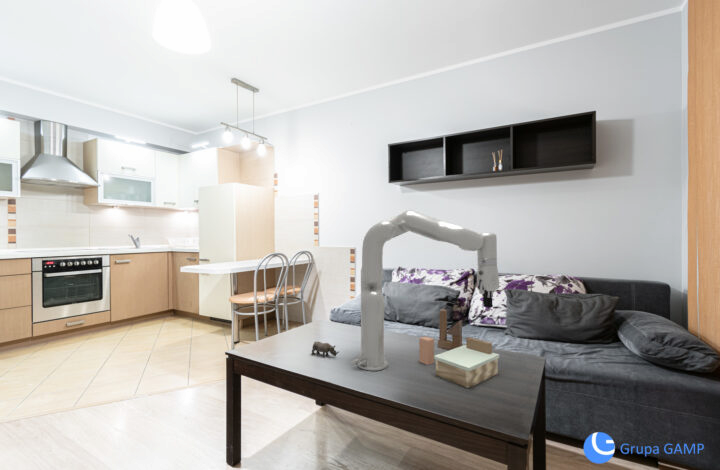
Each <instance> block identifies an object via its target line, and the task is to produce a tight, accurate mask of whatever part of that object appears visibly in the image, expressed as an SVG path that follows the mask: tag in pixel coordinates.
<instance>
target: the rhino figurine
mask: <svg viewBox="0 0 720 470" xmlns="http://www.w3.org/2000/svg"><path fill="white" fill-rule="evenodd" d="M336 346H337V344H335V345H331V344H330V343H328V342H321V341H314V342H313V344H312V349H311V355H313V356H314V355H315V351H316V354H317V355H320V354H321V353H322V355H321V357H322V358H325V357H330V354H331V355H332V356H334V357H336V356H337V355H339V352H340V351H337V350H335V348H336Z"/></svg>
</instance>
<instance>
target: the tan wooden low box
mask: <svg viewBox="0 0 720 470" xmlns="http://www.w3.org/2000/svg"><path fill="white" fill-rule="evenodd" d="M498 360H499V358H497V359H495V360H493V361H491V362H489V363H486V364H484V365H482V366H480V367H478V368H475V369H473V370H471V371H466V370H463V369H461V368H458V367H455V366H452V365H449V364H446V363H444V362H441V361H438V360H435V376H436V377H438V378H440V379H444V380H446V381H449V382H450V383H451V382H452V383H453V384H457V385H459V386H462V387H464V388H466V389H470V388H473V387H474V386H476V385H478V384H480V383H482V382H484V381H486V380H488V379H490V378H491V377H492V378H493V377H494V376H496V375H497V374H498V375H499V373H498V372H499V371H498V369H499V368H498V364H499V363H498V362H499V361H498Z"/></svg>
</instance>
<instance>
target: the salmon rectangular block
mask: <svg viewBox="0 0 720 470" xmlns="http://www.w3.org/2000/svg"><path fill="white" fill-rule="evenodd" d="M418 341H419V343H418V344H419V348H418V349H419V350H418V351H419V353H418V354H419V363H421V362H422V364H424V365H426V366H428V365H432V364H434V363H435V359H434V356H435V338H432V337H428V336H422V337H419V340H418Z"/></svg>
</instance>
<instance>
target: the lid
mask: <svg viewBox="0 0 720 470" xmlns="http://www.w3.org/2000/svg"><path fill="white" fill-rule="evenodd" d="M465 339H466V344H462V346H461V347H458V348H455V349H452V350H447V351H444V352H441V353H439V354H434V361H436V360H438V361H441V362H444V363H446V364H449V365H452V366H455V367H458V368H461V369H463V370H466V371H471V370H473V369H475V368H478V367H480V366H482V365H484V364H486V363H489V362H491V361H493V360H495V359H497V358H498V359H500V354H499V353H495V352H493V343H492V342H490V341H486V340H482V339H477V338H473V337H470V336H469V337H466V338H465Z"/></svg>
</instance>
